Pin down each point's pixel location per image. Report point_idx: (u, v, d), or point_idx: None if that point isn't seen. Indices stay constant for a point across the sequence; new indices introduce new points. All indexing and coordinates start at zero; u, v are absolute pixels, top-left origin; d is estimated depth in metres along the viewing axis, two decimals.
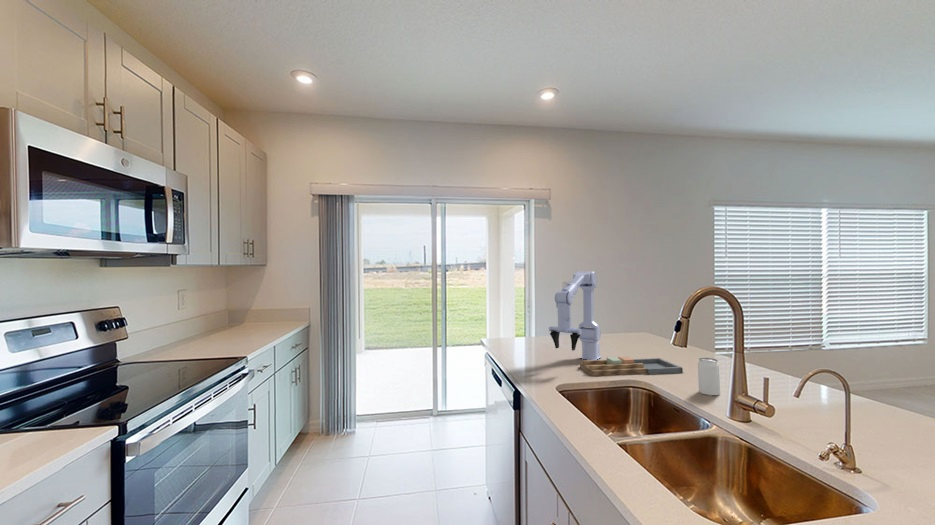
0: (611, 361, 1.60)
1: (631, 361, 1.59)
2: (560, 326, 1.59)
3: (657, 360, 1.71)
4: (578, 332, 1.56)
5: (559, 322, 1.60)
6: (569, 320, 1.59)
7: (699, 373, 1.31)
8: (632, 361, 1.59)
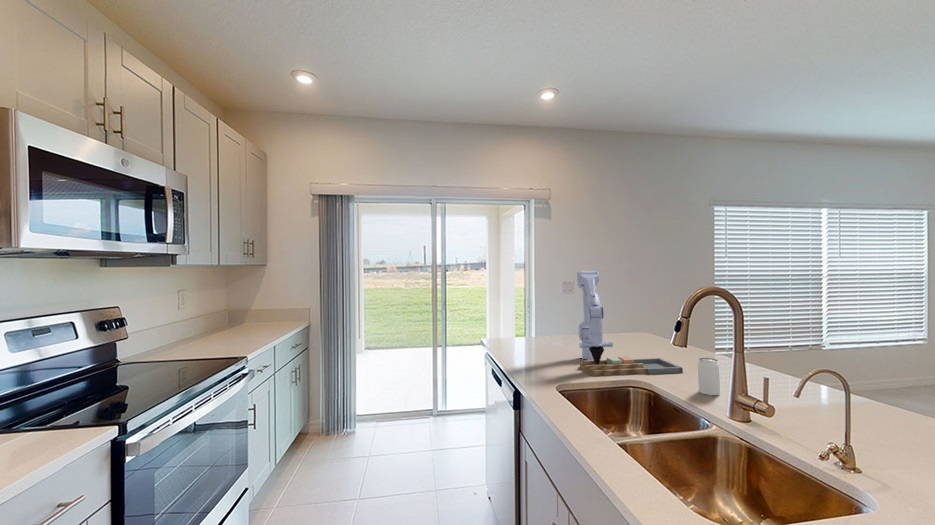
0: (611, 361, 1.60)
1: (631, 361, 1.59)
2: (597, 341, 1.59)
3: (657, 360, 1.71)
4: (611, 345, 1.61)
5: (595, 337, 1.59)
6: None
7: (699, 373, 1.31)
8: (632, 361, 1.59)
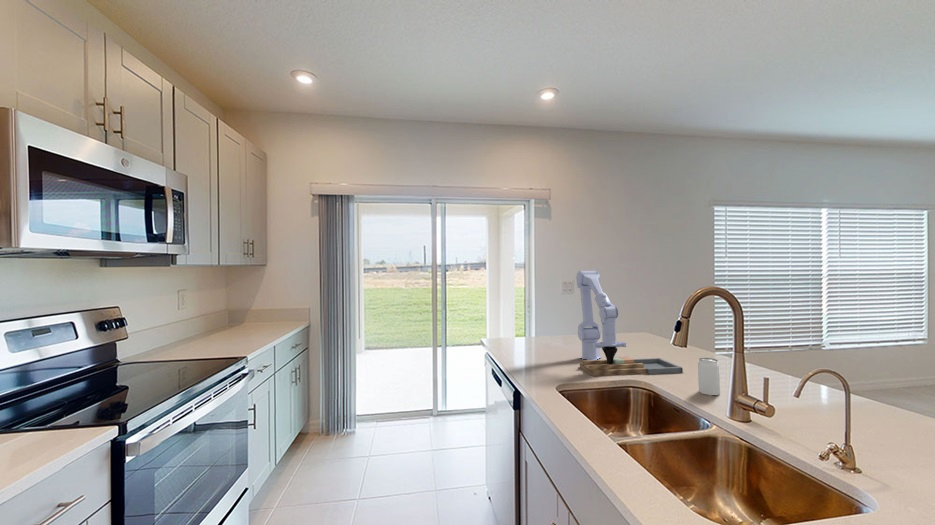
0: (614, 361, 1.60)
1: (631, 361, 1.59)
2: (610, 341, 1.59)
3: (657, 360, 1.71)
4: (625, 345, 1.61)
5: (609, 337, 1.59)
6: None
7: (699, 373, 1.31)
8: (632, 361, 1.59)
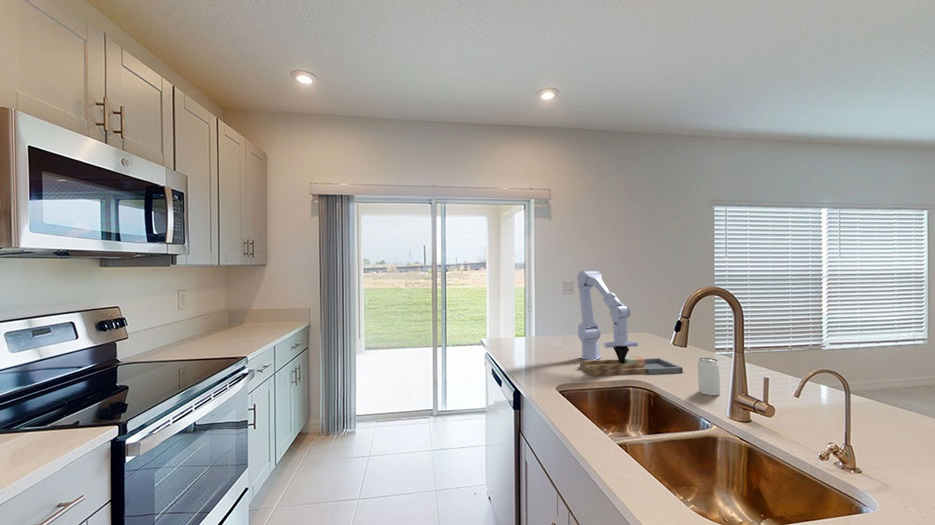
0: (626, 360, 1.60)
1: (642, 361, 1.60)
2: (622, 341, 1.59)
3: (657, 360, 1.71)
4: (636, 344, 1.62)
5: (620, 337, 1.60)
6: None
7: (699, 373, 1.31)
8: (643, 361, 1.60)
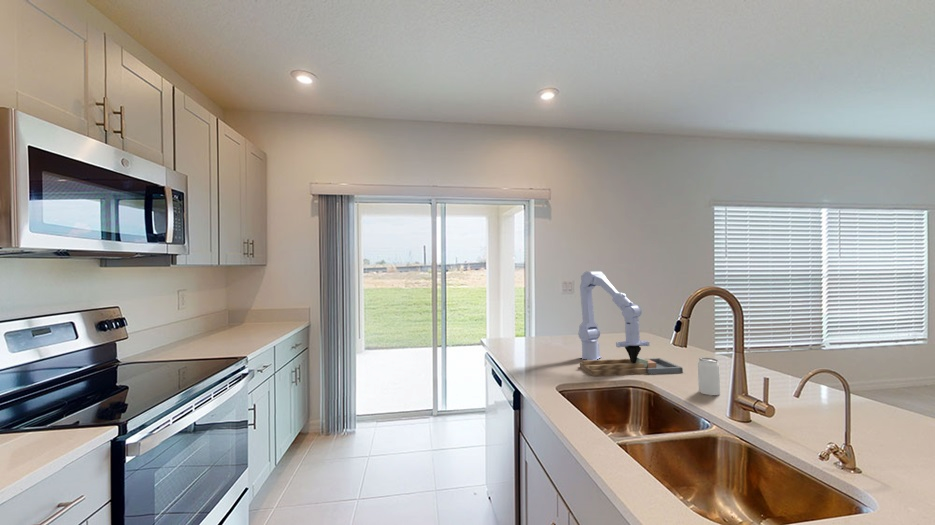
0: (637, 359, 1.61)
1: (654, 364, 1.60)
2: (634, 340, 1.60)
3: (657, 360, 1.71)
4: (648, 344, 1.62)
5: (632, 337, 1.60)
6: None
7: (699, 373, 1.31)
8: (655, 364, 1.60)
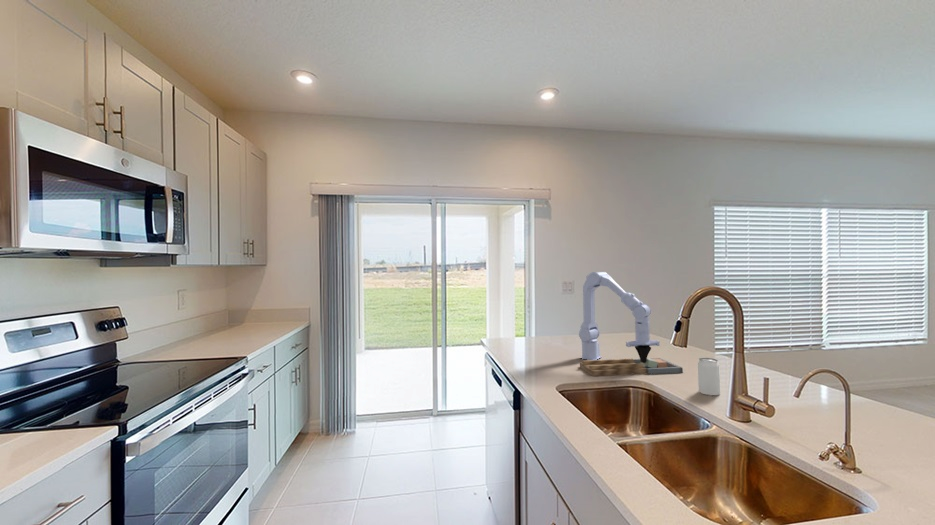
0: (647, 360, 1.61)
1: (664, 363, 1.60)
2: (644, 340, 1.60)
3: None
4: (658, 344, 1.62)
5: (642, 336, 1.60)
6: None
7: (699, 373, 1.31)
8: (665, 363, 1.60)
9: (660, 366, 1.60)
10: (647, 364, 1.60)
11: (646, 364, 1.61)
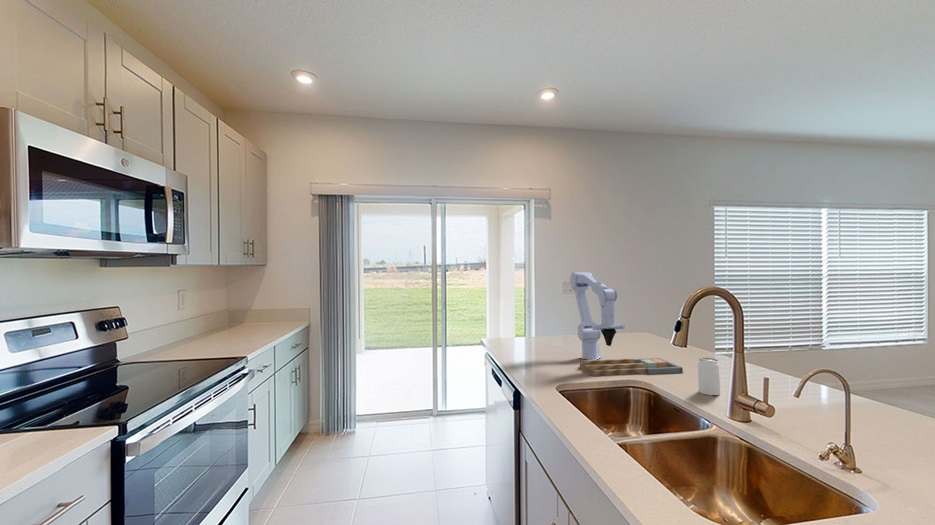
0: (646, 363, 1.61)
1: (664, 363, 1.60)
2: (609, 323, 1.62)
3: None
4: (623, 327, 1.65)
5: (608, 319, 1.62)
6: None
7: (699, 373, 1.31)
8: (665, 363, 1.60)
9: (660, 366, 1.60)
10: (647, 367, 1.60)
11: (646, 367, 1.61)
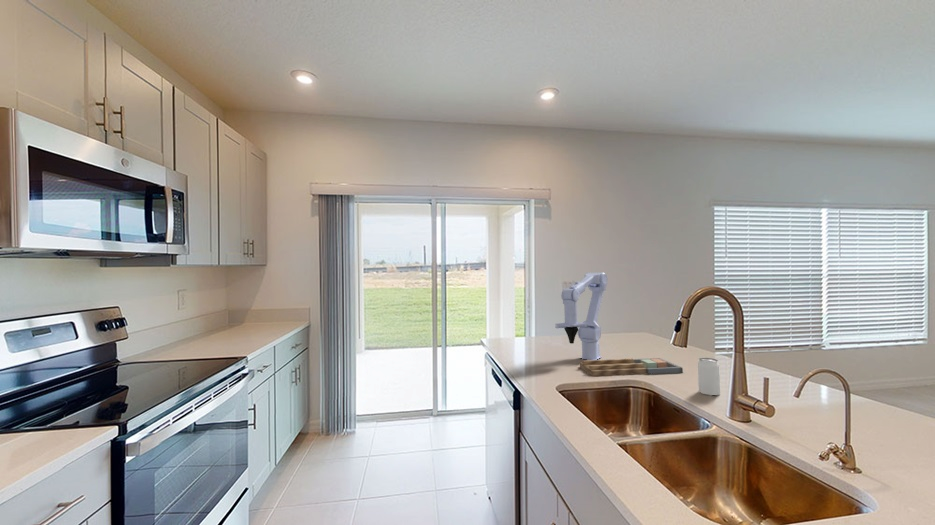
0: (646, 363, 1.61)
1: (664, 363, 1.60)
2: (571, 322, 1.69)
3: None
4: (585, 325, 1.71)
5: (570, 318, 1.69)
6: (576, 315, 1.71)
7: (699, 373, 1.31)
8: (665, 363, 1.60)
9: (660, 366, 1.60)
10: (647, 367, 1.60)
11: (646, 367, 1.61)
